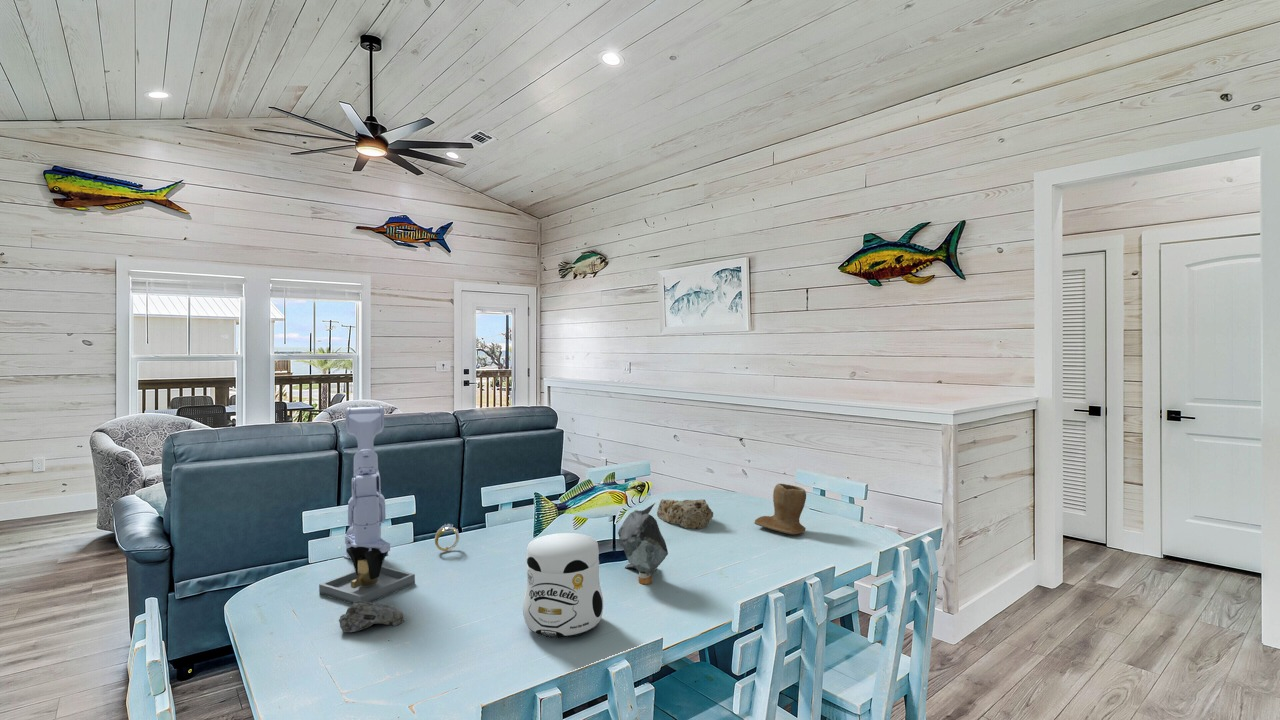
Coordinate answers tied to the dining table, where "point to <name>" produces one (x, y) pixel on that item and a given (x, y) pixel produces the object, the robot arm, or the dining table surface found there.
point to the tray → (385, 586)
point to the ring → (443, 532)
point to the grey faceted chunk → (642, 543)
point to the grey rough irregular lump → (369, 616)
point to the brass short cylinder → (363, 574)
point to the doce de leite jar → (562, 585)
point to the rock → (685, 513)
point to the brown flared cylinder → (785, 510)
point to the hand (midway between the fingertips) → (367, 575)
